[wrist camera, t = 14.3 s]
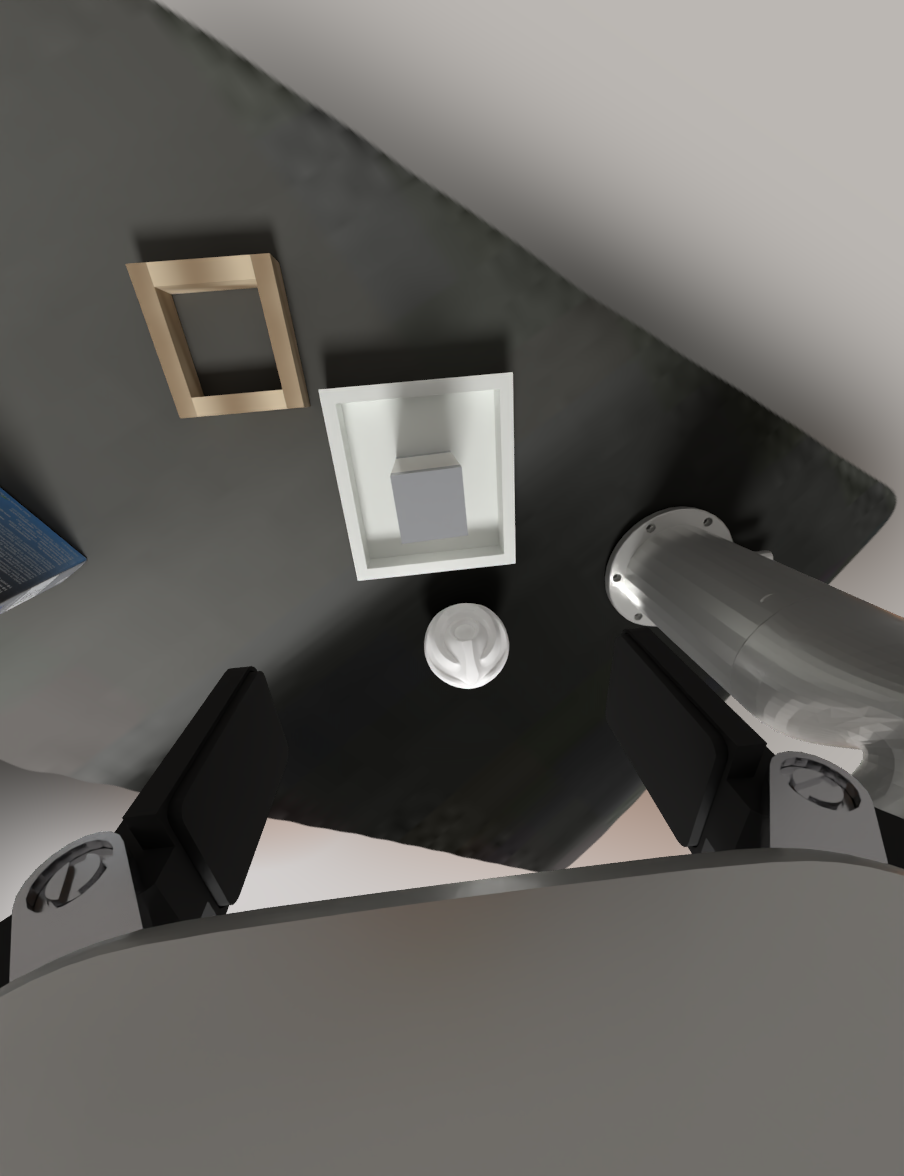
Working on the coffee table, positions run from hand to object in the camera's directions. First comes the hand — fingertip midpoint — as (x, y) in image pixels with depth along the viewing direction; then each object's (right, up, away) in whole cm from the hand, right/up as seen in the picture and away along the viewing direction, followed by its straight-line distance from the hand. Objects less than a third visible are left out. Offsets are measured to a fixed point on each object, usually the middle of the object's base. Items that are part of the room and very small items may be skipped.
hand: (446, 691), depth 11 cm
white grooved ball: (+1, -1, +30) cm, 30 cm away
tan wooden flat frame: (-16, +21, +18) cm, 32 cm away
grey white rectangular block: (-2, +12, +23) cm, 26 cm away
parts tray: (-2, +12, +24) cm, 27 cm away
